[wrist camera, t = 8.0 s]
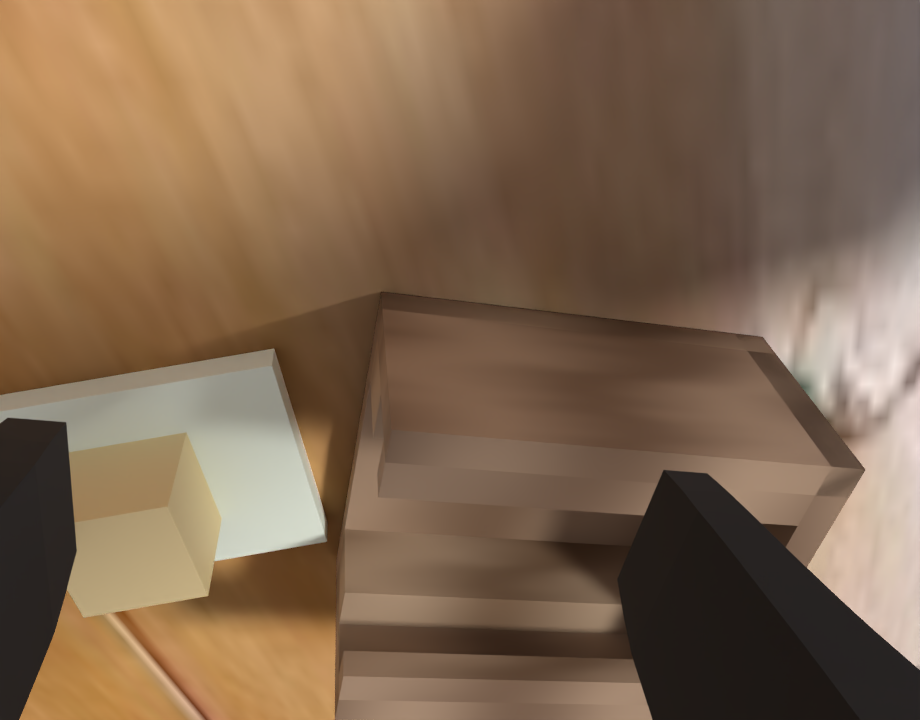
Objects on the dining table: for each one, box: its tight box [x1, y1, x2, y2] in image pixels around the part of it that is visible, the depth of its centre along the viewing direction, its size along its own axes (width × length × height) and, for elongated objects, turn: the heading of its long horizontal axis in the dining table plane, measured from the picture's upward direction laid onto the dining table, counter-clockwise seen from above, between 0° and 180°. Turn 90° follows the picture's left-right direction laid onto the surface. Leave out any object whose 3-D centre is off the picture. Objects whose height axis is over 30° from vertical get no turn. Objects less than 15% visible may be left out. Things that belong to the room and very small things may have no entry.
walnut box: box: [335, 292, 865, 720], centre depth 21 cm, size 10×9×5 cm
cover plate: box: [0, 349, 328, 618], centre depth 21 cm, size 8×6×4 cm
